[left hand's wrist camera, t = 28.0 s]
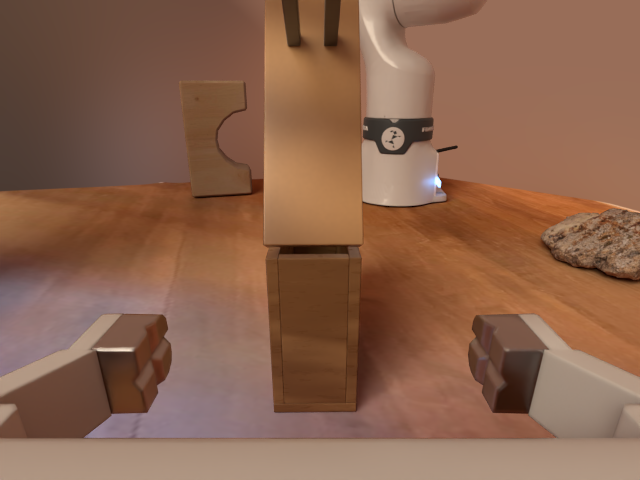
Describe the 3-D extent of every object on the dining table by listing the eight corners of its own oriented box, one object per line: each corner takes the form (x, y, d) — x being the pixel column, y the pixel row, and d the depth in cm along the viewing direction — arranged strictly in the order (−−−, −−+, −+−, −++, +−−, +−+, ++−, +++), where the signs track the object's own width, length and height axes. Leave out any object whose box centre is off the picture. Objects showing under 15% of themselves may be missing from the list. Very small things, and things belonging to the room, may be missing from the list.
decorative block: (250, 187, 80) (243, 81, 73) (252, 194, 75) (245, 80, 68) (193, 190, 78) (181, 81, 71) (191, 197, 72) (177, 80, 65)
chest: (288, 300, 37) (285, 194, 33) (342, 300, 37) (344, 194, 33) (274, 412, 24) (265, 258, 20) (356, 411, 24) (361, 257, 20)
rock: (708, 281, 40) (729, 227, 38) (635, 296, 37) (654, 238, 35) (575, 232, 53) (586, 191, 51) (514, 241, 51) (522, 197, 48)
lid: (267, -5, 22) (236, -185, 14) (356, -5, 22) (381, -185, 14) (266, 247, 21) (230, 225, 12) (360, 246, 21) (391, 224, 12)
